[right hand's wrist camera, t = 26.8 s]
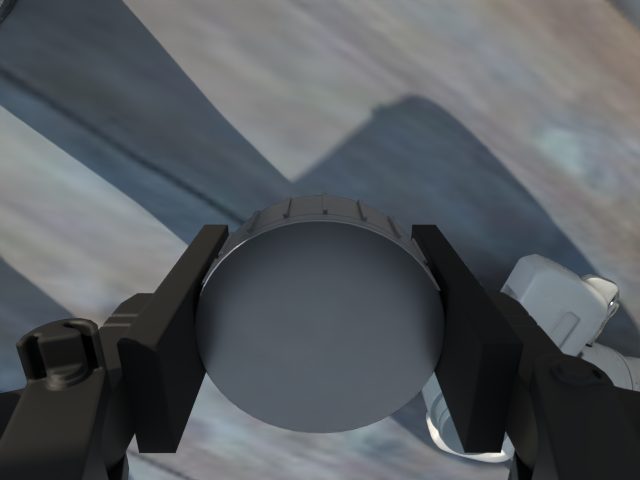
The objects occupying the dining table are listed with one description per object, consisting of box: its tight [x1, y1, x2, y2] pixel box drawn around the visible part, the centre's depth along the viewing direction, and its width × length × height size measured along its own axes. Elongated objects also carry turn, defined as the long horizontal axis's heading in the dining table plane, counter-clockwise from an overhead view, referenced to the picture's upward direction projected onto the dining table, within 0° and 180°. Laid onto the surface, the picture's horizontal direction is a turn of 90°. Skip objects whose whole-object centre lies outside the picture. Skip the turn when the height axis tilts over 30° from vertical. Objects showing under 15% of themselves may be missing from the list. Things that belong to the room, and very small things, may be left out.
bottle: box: [421, 372, 508, 455], centre depth 36 cm, size 5×5×17 cm
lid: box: [195, 193, 446, 433], centre depth 11 cm, size 6×6×2 cm
